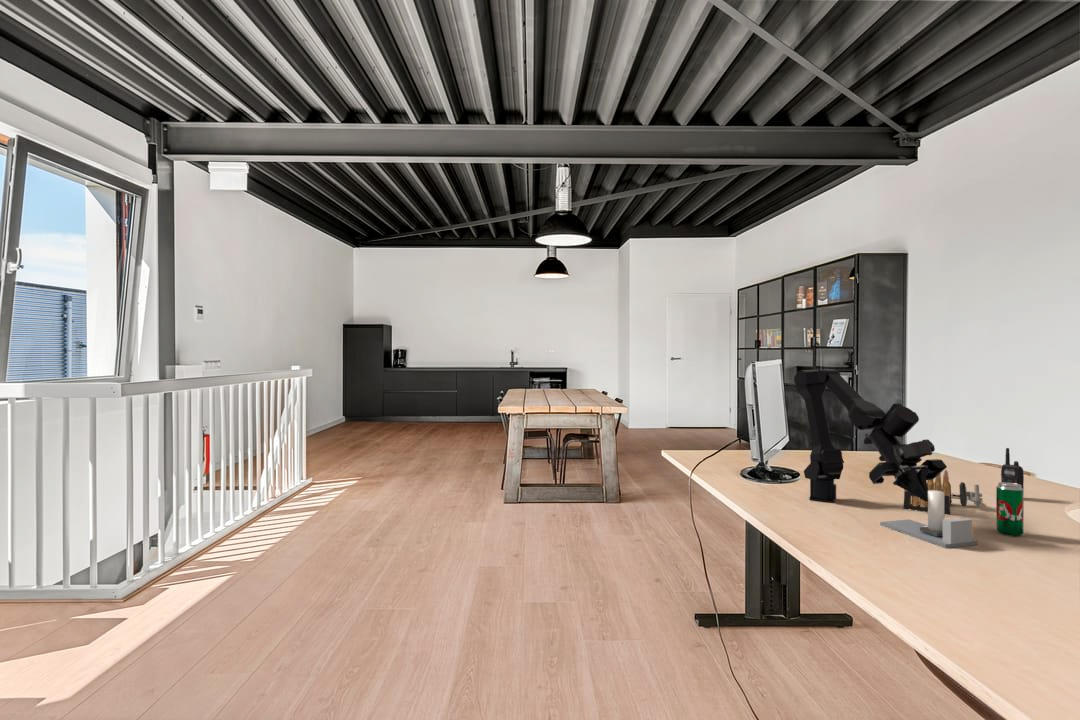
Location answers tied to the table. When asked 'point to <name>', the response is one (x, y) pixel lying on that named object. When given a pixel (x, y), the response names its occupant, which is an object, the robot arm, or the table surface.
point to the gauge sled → (935, 513)
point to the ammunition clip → (921, 504)
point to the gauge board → (953, 536)
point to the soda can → (1010, 509)
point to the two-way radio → (1012, 471)
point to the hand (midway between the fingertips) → (928, 500)
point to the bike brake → (967, 495)
